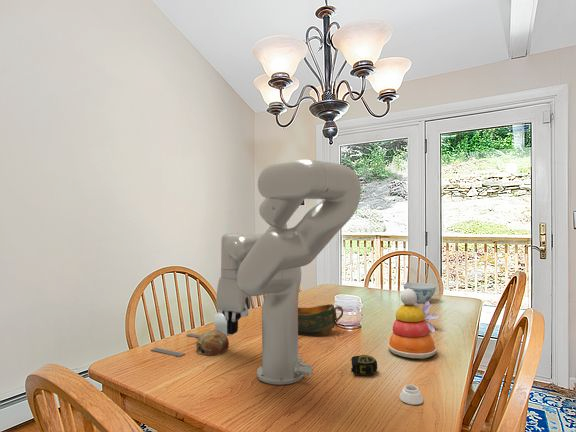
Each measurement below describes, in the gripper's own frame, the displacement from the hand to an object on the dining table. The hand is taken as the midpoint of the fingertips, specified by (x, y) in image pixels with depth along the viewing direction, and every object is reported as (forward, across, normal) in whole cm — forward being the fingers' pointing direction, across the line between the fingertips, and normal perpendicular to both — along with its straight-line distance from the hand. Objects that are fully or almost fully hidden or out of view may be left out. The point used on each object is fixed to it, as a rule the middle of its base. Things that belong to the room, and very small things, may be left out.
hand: (232, 332), depth 112 cm
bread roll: (+7, +7, 0) cm, 10 cm away
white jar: (+4, -54, +6) cm, 54 cm away
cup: (+7, +14, -14) cm, 21 cm away
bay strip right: (+7, +18, -8) cm, 21 cm away
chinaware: (+6, -44, -96) cm, 105 cm away
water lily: (+5, -49, -50) cm, 70 cm away
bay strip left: (+7, +18, +8) cm, 21 cm away
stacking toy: (+5, -50, -24) cm, 55 cm away
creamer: (+6, -15, -28) cm, 33 cm away
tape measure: (+5, -40, -3) cm, 40 cm away
